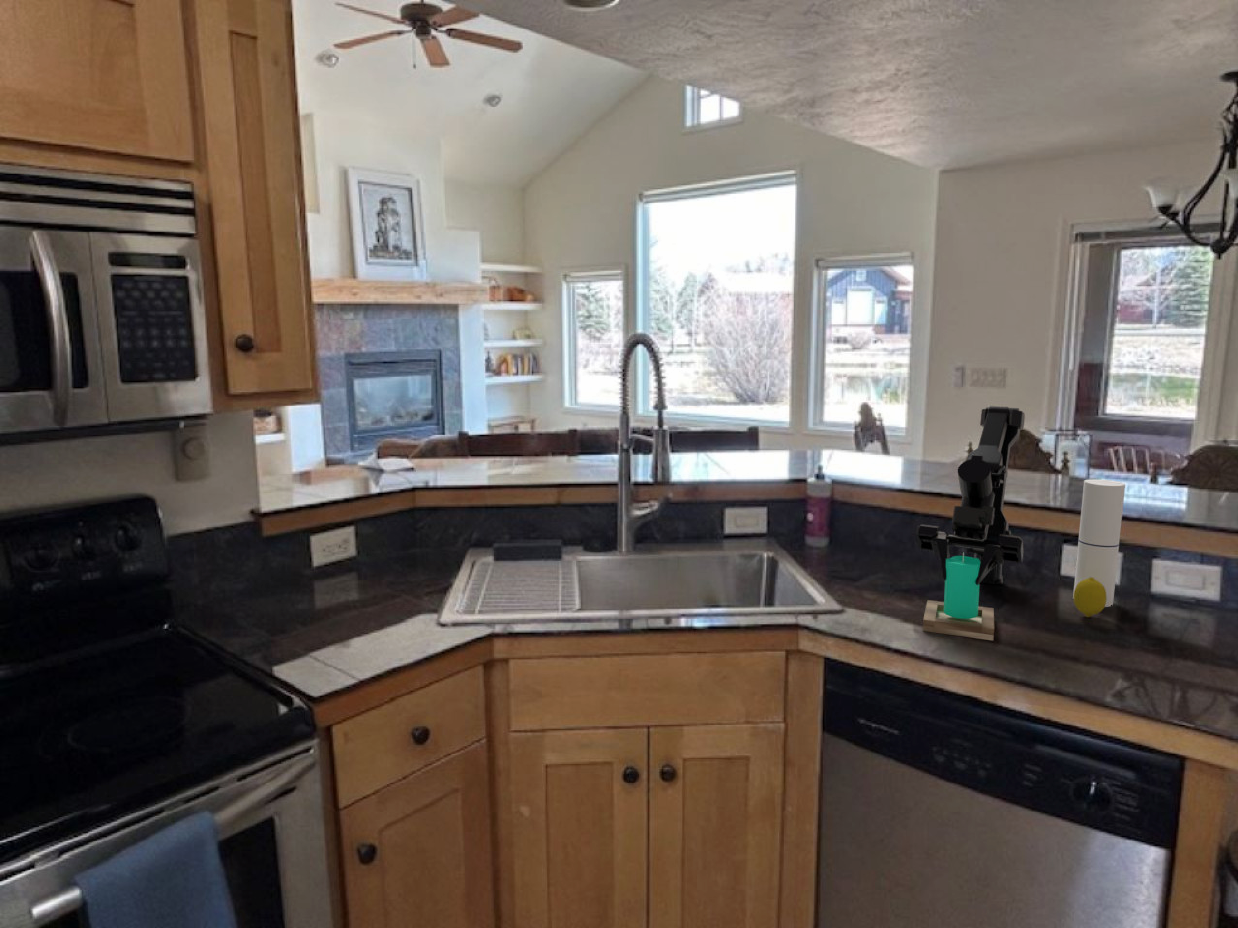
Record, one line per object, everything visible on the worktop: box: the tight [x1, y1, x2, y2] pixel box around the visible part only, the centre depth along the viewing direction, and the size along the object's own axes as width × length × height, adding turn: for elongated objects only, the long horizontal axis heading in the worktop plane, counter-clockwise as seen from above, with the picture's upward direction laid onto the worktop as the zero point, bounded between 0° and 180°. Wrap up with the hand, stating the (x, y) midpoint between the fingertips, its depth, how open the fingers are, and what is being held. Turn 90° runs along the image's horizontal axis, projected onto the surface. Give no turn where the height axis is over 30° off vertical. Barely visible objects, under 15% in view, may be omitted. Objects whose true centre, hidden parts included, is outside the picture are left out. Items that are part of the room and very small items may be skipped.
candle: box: [943, 551, 981, 619], centre depth 152 cm, size 6×6×12 cm
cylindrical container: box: [1072, 478, 1126, 608], centre depth 165 cm, size 7×7×25 cm
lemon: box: [1073, 577, 1106, 618], centre depth 157 cm, size 6×6×8 cm
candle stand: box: [922, 599, 995, 642], centre depth 154 cm, size 12×12×2 cm
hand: (960, 581), depth 151 cm, fingers closed on candle, 5 cm apart
